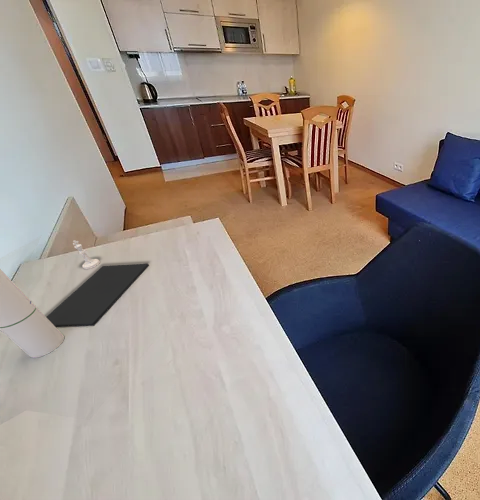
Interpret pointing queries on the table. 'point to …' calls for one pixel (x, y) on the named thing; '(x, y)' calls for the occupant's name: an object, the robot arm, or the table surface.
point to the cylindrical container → (25, 321)
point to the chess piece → (86, 257)
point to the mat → (95, 295)
